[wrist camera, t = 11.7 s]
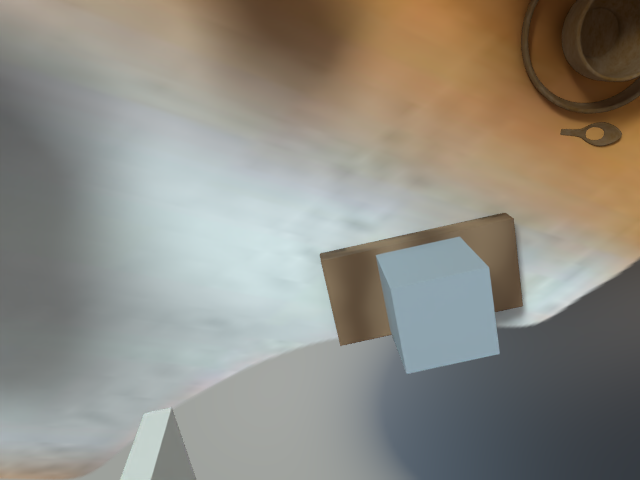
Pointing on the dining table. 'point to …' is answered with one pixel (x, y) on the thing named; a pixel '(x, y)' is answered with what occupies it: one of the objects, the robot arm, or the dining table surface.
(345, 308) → the board
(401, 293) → the cube
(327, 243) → the dining table surface
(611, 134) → the place setting
